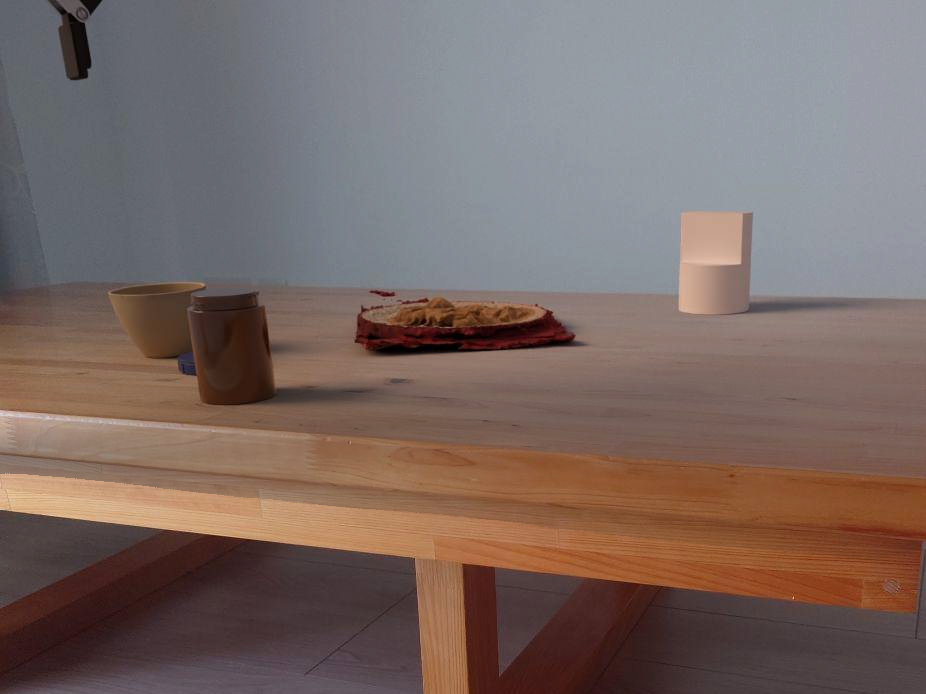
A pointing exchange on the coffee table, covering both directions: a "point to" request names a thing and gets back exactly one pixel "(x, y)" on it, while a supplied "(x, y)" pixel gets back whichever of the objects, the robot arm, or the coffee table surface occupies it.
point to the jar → (231, 346)
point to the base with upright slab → (715, 262)
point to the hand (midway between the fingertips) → (14, 77)
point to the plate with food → (457, 324)
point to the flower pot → (156, 316)
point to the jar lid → (187, 363)
